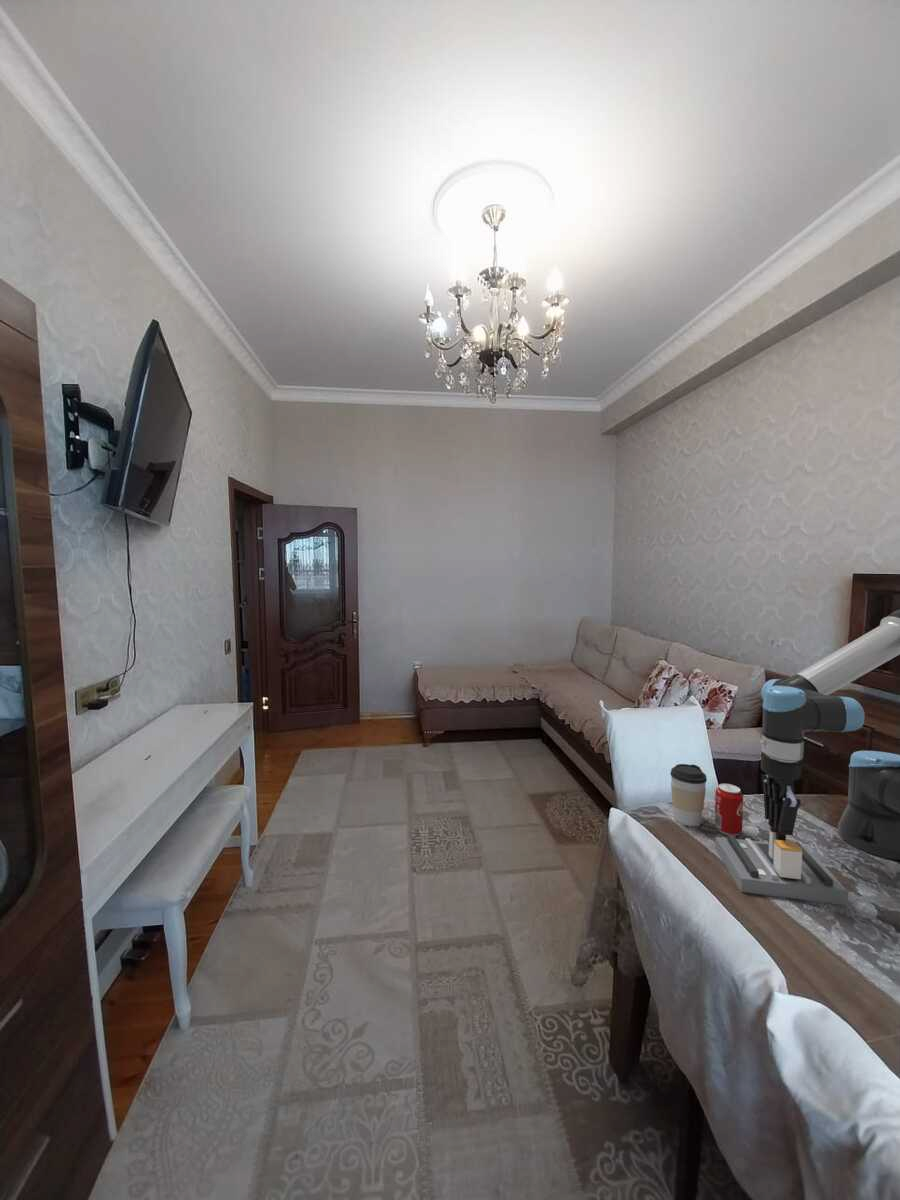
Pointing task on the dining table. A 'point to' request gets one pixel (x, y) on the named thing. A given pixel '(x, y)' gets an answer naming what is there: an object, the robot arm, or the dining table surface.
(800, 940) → the dining table surface
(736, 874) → the panel
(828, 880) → the dark grey bar
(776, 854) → the orange-topped grey block
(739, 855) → the dark grey rail
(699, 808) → the coffee cup
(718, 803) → the beverage can
